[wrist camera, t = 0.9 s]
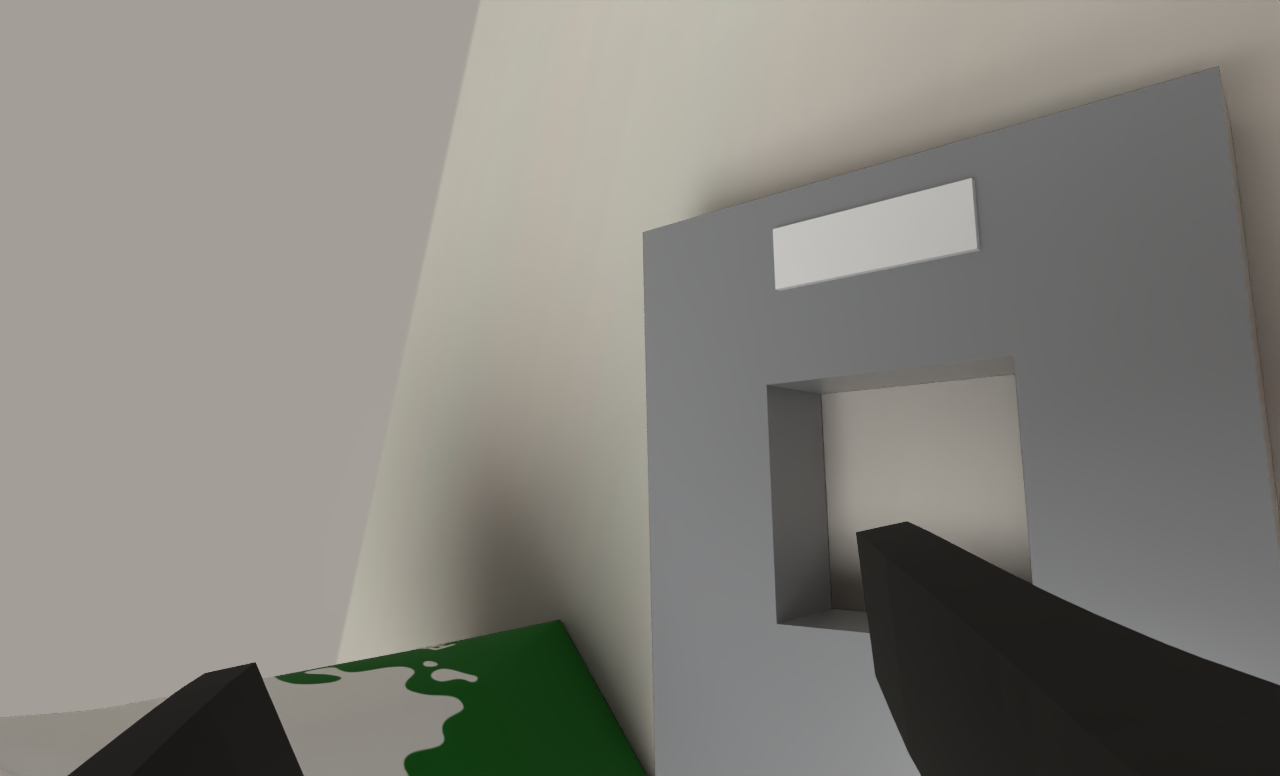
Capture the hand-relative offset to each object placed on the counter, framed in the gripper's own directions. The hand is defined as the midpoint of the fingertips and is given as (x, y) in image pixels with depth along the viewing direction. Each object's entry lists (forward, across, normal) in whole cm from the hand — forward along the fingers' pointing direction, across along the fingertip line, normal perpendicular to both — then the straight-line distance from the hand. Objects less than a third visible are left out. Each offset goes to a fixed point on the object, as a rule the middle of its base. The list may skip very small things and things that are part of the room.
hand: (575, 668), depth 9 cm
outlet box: (+10, -8, +5) cm, 14 cm away
